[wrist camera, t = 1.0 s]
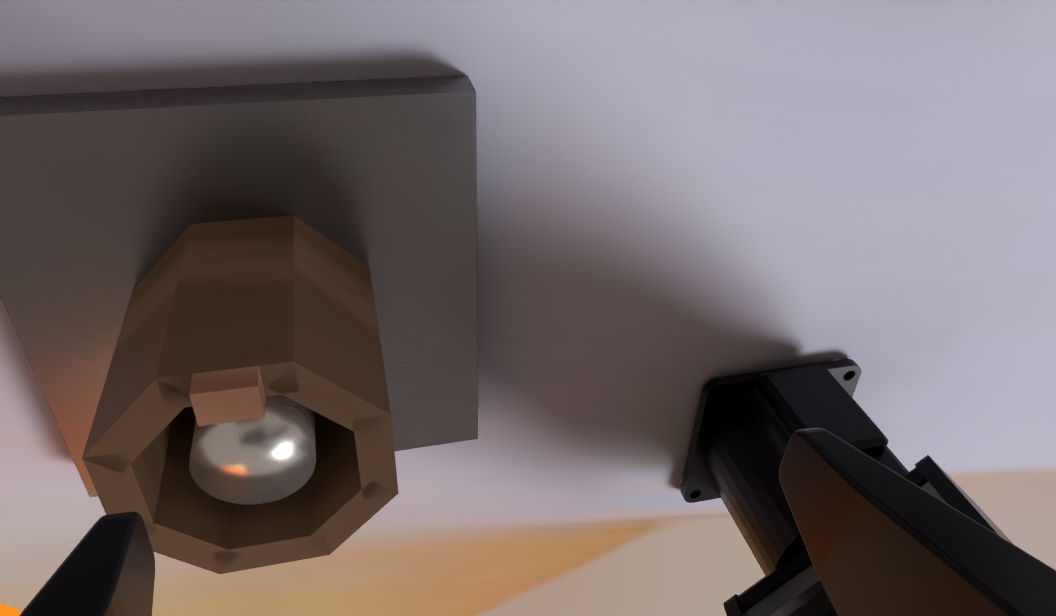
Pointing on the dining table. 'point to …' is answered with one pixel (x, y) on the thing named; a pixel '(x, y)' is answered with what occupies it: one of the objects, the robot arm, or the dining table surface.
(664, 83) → the dining table surface
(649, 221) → the dining table surface
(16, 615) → the orange juice
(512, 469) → the dining table surface
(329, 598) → the dining table surface
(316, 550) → the sleeve
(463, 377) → the stand
